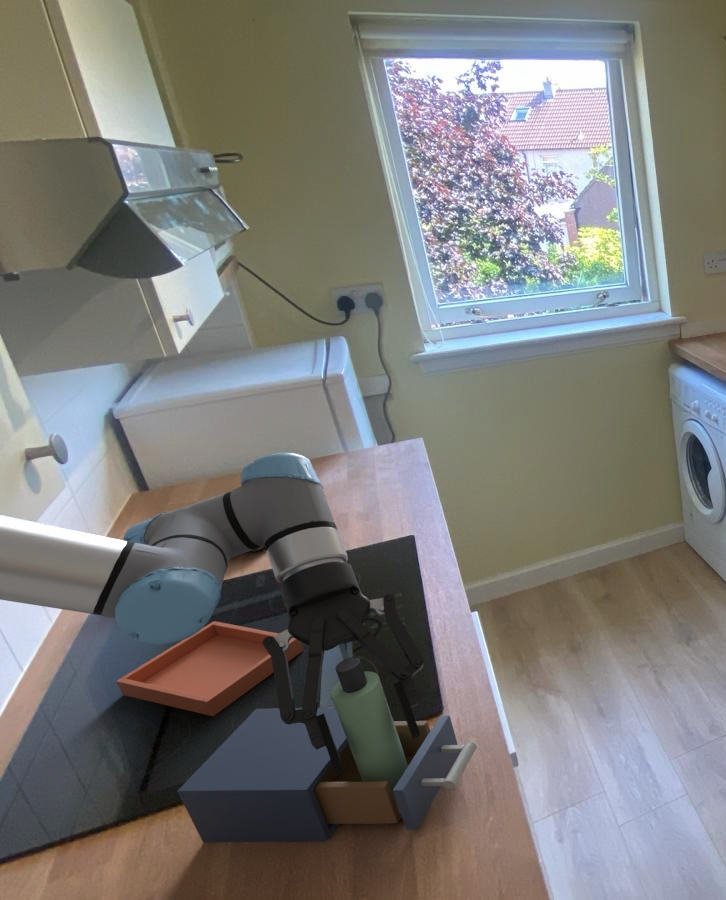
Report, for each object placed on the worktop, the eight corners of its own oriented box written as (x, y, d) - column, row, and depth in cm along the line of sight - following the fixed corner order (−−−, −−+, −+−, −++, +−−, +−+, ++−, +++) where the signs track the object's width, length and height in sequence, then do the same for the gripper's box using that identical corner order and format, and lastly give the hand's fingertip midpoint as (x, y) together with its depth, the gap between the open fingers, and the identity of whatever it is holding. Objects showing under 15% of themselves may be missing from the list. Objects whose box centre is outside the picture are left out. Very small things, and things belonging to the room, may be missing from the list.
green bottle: (357, 791, 87) (313, 671, 80) (393, 762, 91) (353, 645, 84) (384, 805, 86) (341, 684, 78) (419, 774, 89) (381, 657, 82)
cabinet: (386, 755, 95) (370, 707, 92) (327, 841, 84) (306, 789, 80) (276, 756, 95) (255, 708, 92) (202, 842, 84) (176, 791, 81)
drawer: (491, 752, 94) (482, 714, 91) (452, 830, 83) (439, 790, 81) (357, 753, 94) (343, 716, 92) (300, 831, 84) (283, 791, 81)
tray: (122, 695, 107) (115, 681, 106) (219, 634, 120) (213, 620, 119) (213, 716, 102) (206, 702, 101) (303, 650, 115) (298, 637, 114)
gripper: (405, 553, 97) (468, 715, 92) (218, 615, 85) (279, 804, 80) (404, 534, 91) (472, 706, 86) (204, 597, 79) (269, 800, 74)
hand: (379, 753), depth 83 cm, fingers open, 7 cm apart
